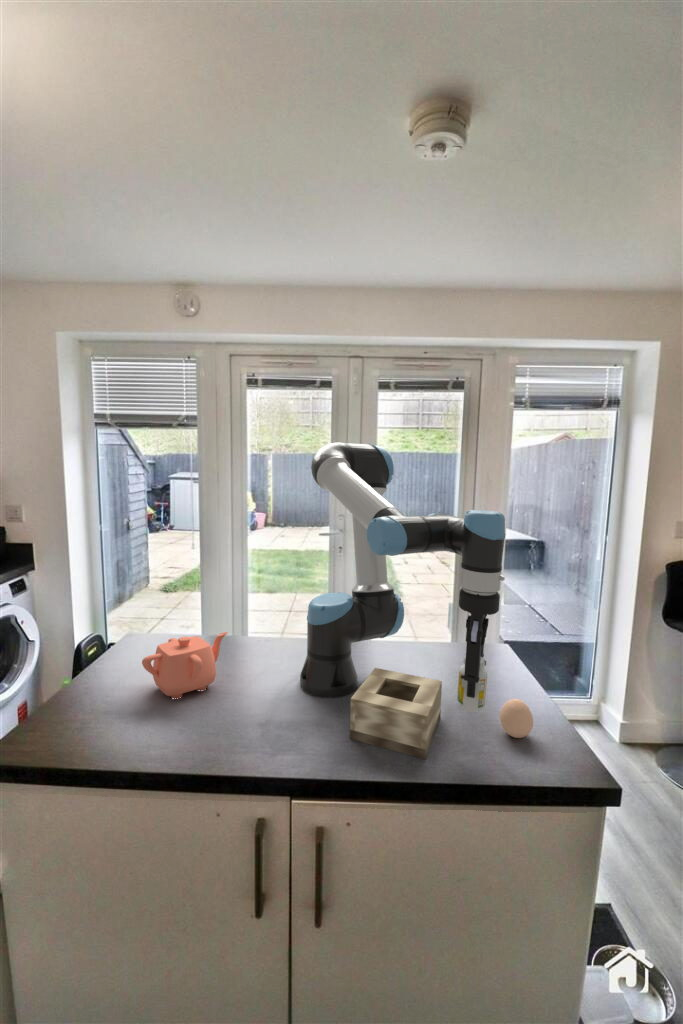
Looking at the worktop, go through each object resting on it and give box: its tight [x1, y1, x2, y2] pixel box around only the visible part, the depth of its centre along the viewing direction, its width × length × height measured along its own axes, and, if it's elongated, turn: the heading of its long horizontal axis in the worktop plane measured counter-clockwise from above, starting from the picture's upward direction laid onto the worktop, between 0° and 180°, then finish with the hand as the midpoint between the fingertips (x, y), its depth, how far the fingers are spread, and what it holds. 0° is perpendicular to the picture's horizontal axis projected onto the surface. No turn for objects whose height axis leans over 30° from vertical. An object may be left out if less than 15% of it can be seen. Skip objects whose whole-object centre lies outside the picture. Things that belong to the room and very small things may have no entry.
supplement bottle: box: [456, 654, 488, 712], centre depth 86 cm, size 5×5×10 cm
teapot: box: [141, 631, 228, 699], centre depth 110 cm, size 17×16×13 cm
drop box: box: [349, 667, 443, 760], centre depth 94 cm, size 16×16×9 cm
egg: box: [499, 698, 534, 739], centre depth 92 cm, size 7×7×8 cm
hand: (471, 702), depth 86 cm, fingers closed on supplement bottle, 5 cm apart
